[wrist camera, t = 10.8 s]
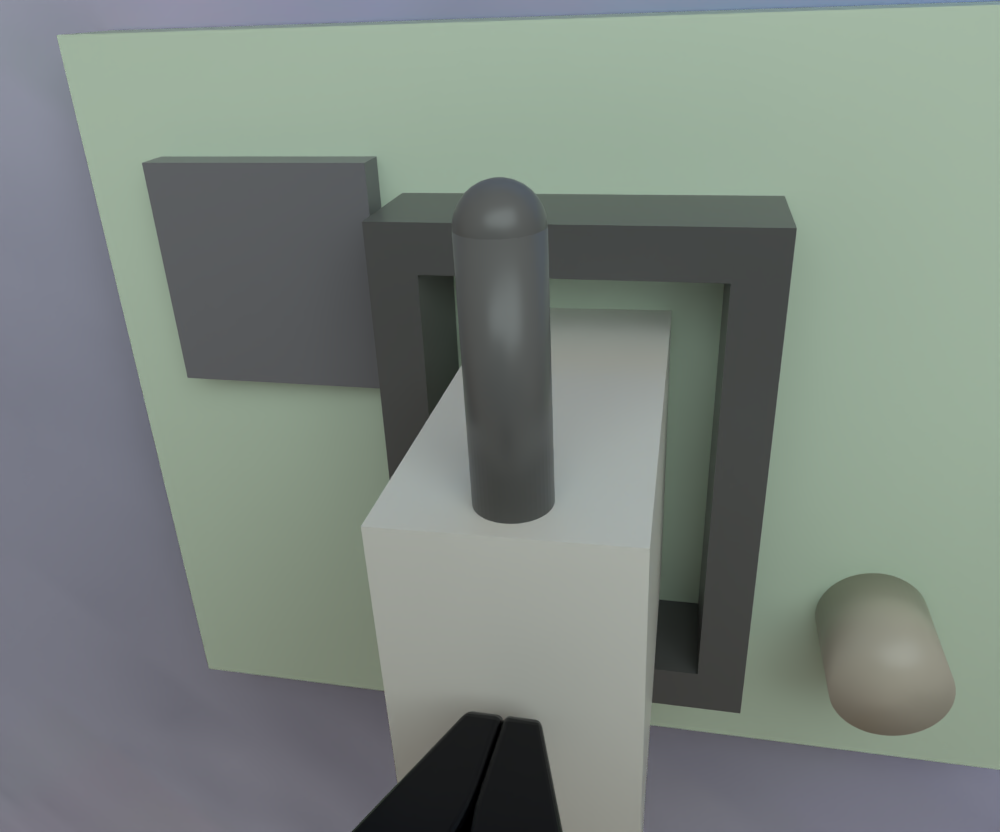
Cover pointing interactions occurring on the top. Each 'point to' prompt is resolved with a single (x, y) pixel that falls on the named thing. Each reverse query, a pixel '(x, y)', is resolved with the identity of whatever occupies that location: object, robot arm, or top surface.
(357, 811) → the top surface
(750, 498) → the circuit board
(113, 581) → the top surface
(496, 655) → the plug
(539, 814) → the robot arm
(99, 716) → the top surface
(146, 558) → the top surface
